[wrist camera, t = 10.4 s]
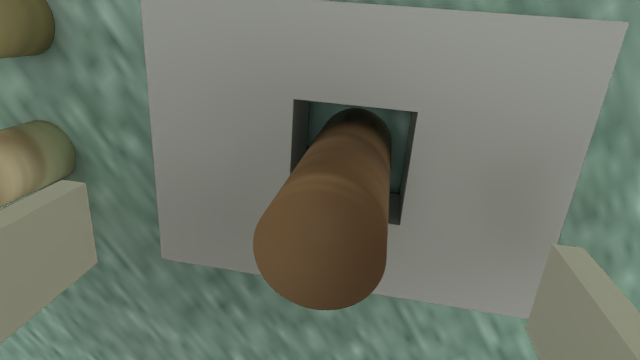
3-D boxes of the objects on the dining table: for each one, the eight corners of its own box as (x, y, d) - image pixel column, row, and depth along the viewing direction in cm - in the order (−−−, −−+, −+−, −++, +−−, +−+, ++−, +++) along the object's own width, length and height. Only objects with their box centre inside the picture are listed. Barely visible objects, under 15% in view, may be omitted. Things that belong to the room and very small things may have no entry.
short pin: (26, 174, 28) (-47, 205, 23) (14, 117, 26) (-67, 137, 22) (79, 182, 27) (15, 214, 23) (70, 123, 26) (0, 145, 21)
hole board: (193, 226, 27) (161, 258, 23) (182, -7, 22) (139, -13, 18) (511, 274, 24) (532, 319, 21) (584, 22, 19) (629, 22, 16)
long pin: (317, 172, 24) (252, 298, 13) (322, 104, 23) (253, 182, 12) (386, 181, 24) (377, 320, 13) (396, 112, 22) (395, 201, 11)
